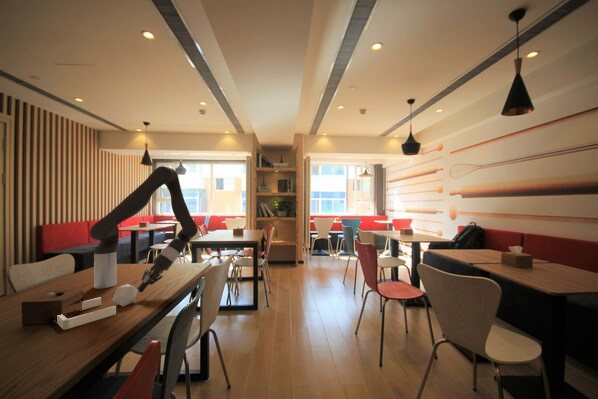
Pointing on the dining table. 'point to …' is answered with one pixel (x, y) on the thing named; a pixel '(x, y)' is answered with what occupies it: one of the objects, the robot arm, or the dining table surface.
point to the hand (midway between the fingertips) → (138, 291)
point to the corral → (88, 317)
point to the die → (125, 295)
